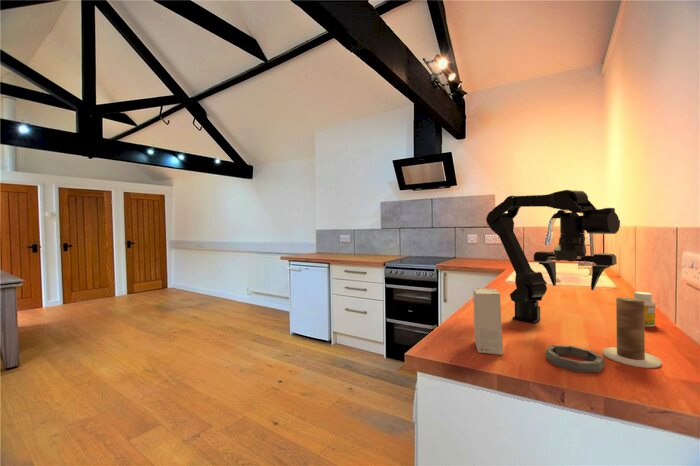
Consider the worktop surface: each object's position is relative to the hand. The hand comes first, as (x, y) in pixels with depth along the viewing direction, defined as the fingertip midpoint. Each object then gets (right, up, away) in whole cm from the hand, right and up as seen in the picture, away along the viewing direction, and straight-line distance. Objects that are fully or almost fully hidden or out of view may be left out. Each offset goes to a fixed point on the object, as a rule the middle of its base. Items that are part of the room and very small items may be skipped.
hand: (572, 287), depth 89 cm
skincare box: (-29, -14, -10) cm, 34 cm away
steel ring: (-14, -14, -19) cm, 27 cm away
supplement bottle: (+26, -13, +6) cm, 30 cm away
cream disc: (+1, -13, -18) cm, 22 cm away
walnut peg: (+1, -13, -18) cm, 22 cm away
